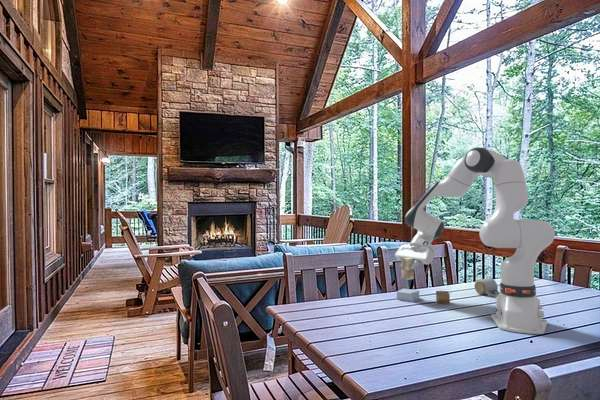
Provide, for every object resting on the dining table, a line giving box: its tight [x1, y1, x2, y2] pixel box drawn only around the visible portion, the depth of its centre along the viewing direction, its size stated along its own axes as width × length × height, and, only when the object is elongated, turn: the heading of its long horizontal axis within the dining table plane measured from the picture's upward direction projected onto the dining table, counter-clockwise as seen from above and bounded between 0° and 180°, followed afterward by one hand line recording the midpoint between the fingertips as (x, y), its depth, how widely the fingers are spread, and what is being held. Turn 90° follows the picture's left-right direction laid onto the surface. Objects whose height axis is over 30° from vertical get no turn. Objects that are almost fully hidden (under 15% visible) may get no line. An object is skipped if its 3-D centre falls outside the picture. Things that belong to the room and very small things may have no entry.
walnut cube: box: [435, 290, 451, 306], centre depth 172 cm, size 5×5×5 cm
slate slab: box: [396, 288, 420, 303], centre depth 181 cm, size 8×8×4 cm
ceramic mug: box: [474, 277, 500, 298], centre depth 185 cm, size 11×8×8 cm
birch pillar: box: [400, 257, 415, 281], centre depth 181 cm, size 4×4×10 cm
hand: (406, 267), depth 181 cm, fingers closed on birch pillar, 4 cm apart
